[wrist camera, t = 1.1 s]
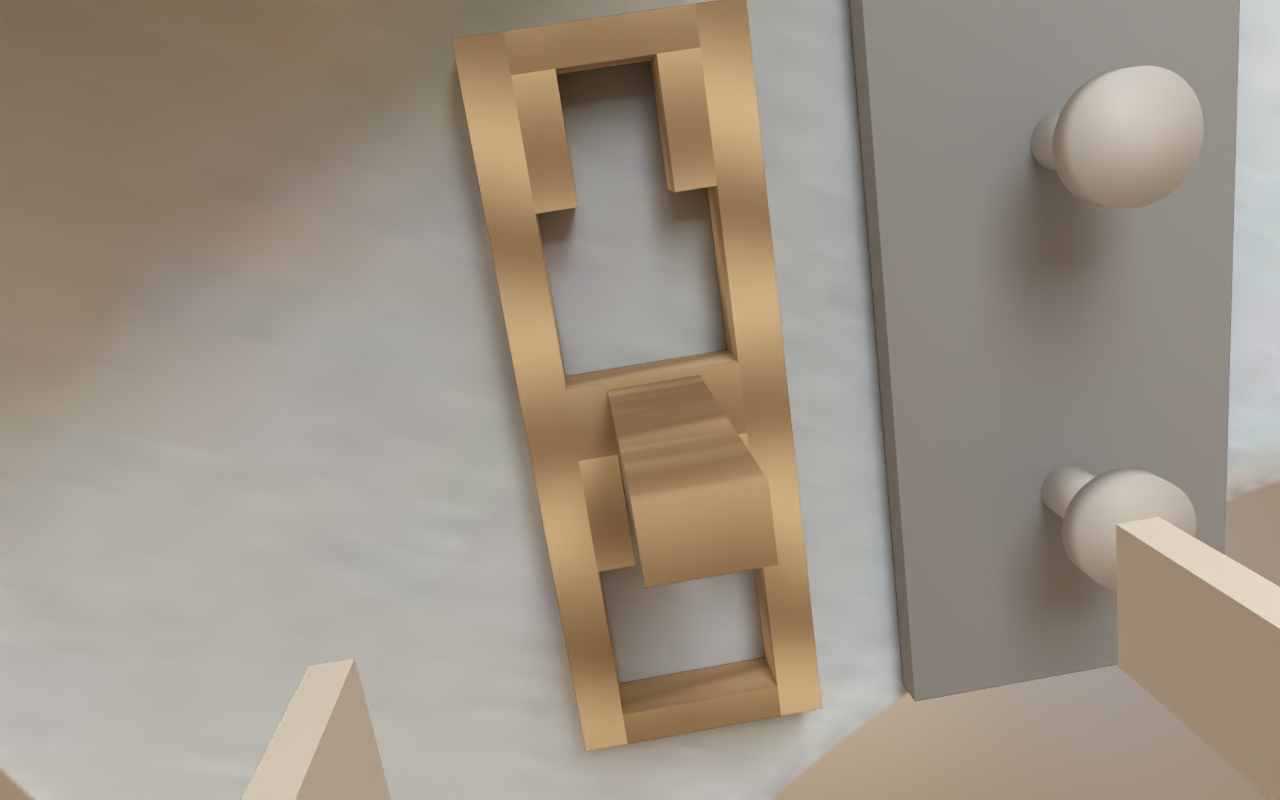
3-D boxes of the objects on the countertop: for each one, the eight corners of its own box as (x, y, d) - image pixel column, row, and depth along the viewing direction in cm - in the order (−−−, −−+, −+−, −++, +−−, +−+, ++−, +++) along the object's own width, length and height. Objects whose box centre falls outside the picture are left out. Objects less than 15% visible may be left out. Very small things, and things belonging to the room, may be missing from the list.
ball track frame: (458, 47, 28) (389, -30, 17) (732, 7, 28) (852, -96, 17) (584, 718, 34) (598, 1001, 23) (807, 678, 35) (930, 935, 23)
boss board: (843, -80, 28) (908, -133, 23) (1215, -133, 29) (1361, -197, 23) (903, 683, 35) (963, 774, 30) (1200, 629, 36) (1309, 709, 31)
